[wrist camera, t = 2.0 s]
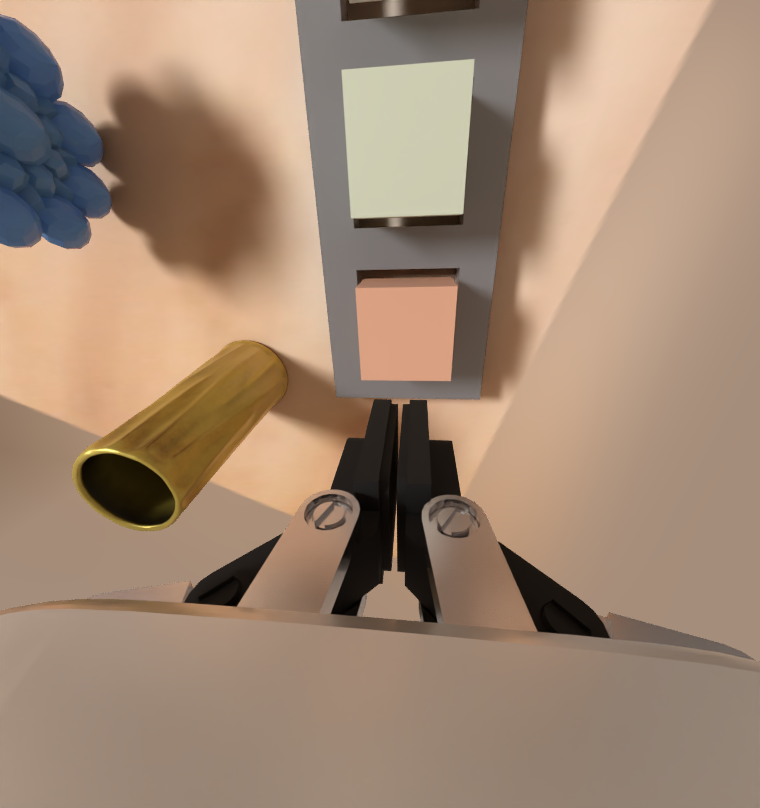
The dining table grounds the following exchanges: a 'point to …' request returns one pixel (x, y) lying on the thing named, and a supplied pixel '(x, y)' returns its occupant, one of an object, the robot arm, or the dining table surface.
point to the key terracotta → (406, 328)
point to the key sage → (407, 138)
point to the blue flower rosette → (43, 149)
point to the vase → (180, 439)
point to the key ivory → (357, 0)
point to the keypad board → (412, 245)
